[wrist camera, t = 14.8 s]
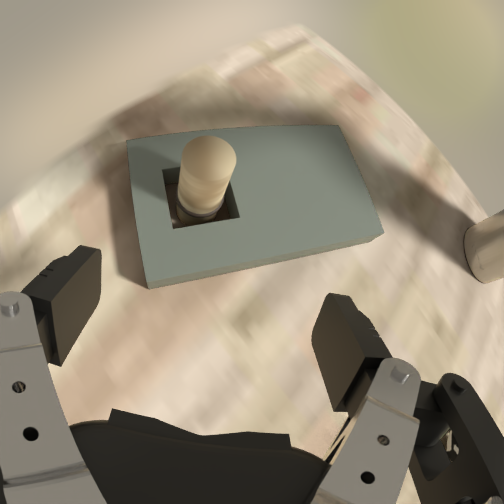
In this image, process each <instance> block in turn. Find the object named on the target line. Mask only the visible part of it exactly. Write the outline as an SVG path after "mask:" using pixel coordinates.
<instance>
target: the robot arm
mask: <svg viewBox="0 0 504 504" xmlns="http://www.w3.org/2000/svg"><path fill="white" fill-rule="evenodd" d="M464 248H465V254H466V258H467V261H468V264H469V267H470V268H471V270H472V272H473V274H474V275H475V277H476V278H477V279H478V280H479V281H481V282H483V283H490V282H492V281H495V280H498V279H501V278H504V210H502V211H500V212H499V213H496V214H494V215H493V216H491V217H489V218H487V219H485V220H483V221H481V222H479V223H477V224H475V225H474V226H472V227H470V228H469V229H468V230H467V231H466V234H465V238H464ZM101 260H102V255H101V250H100V249H96V248H92V247H87V246H83V245H80V246H78V247H77V248H76V249H75V250H74V251H73V252H72V253H71V254H70V255H69V256H63V257H60V258H58V259H56V260H53V261H52V262H51V263H50V264H49V265H48V266H47V267H46V268H45V269H44V270H43V271H41V272H40V273H39V275H37V276H36V277H35V278H34V279H33V280H32V281H31V282H30V283H29V284H28V285H27V286H26V287H25V288H24V289H23V290H22V291H21V292H4V293H1V294H0V504H396V501H397V498H398V496H399V493H400V490H401V487H402V484H403V481H404V478H405V475H406V472H407V468H408V467H409V470H410V473H411V475H412V478H413V481H414V484H415V487H416V490H417V493H418V496H419V499H420V502H421V504H504V437H503V435H502V433H501V432H500V430H499V428H498V427H497V425H496V423H495V422H494V420H493V418H492V417H491V415H490V413H489V412H488V410H487V409H486V407H485V405H484V404H483V402H482V401H481V399H480V398H479V396H478V394H477V393H476V391H475V390H474V388H473V387H472V385H471V384H470V383H469V382H468V381H467V380H466V379H464V378H463V377H461V376H459V375H457V374H453V373H447V374H444V375H443V376H442V378H441V379H440V381H439V382H438V384H433V383H429V382H425V381H421V377H420V374H419V373H418V371H417V370H416V369H415V368H414V367H413V366H412V365H411V364H409V363H408V362H406V361H404V360H401V359H398V358H393V357H392V355H391V354H390V352H389V350H388V349H387V347H386V345H385V344H384V342H383V340H382V339H381V337H379V334H378V332H377V331H376V330H375V327H374V326H373V324H372V323H371V321H370V319H369V318H367V317H366V316H365V315H364V314H363V313H362V312H361V311H358V309H357V307H356V306H355V304H354V302H353V301H352V299H351V298H350V296H346V295H340V294H334V293H329V294H328V295H327V296H326V298H325V300H324V302H323V305H322V308H321V310H320V313H319V315H318V318H317V320H316V323H315V325H314V328H313V331H312V346H313V349H314V352H315V355H316V359H317V362H318V365H319V368H320V371H321V374H322V377H323V380H324V383H325V386H326V389H327V392H328V395H329V399H330V402H331V405H332V408H333V411H334V412H348V415H349V416H348V417H347V419H346V420H345V422H344V423H343V425H342V427H341V429H340V430H339V432H338V434H337V435H336V437H335V439H334V440H333V442H332V444H331V445H330V447H329V449H328V450H327V452H326V454H325V455H324V457H323V458H322V459H321V458H319V457H317V456H315V455H313V454H311V453H309V452H307V451H304V450H301V449H298V448H295V447H291V443H290V437H289V434H275V433H259V432H239V433H229V434H219V435H206V436H202V435H197V434H194V433H191V432H188V431H186V430H183V429H180V428H178V427H175V426H173V425H170V424H168V423H165V422H163V421H160V420H158V419H156V418H151V417H146V416H142V415H137V414H133V413H129V412H125V411H121V410H117V409H113V408H112V411H111V414H110V417H109V420H93V421H86V422H80V423H77V424H73V425H70V426H68V423H67V421H66V418H65V416H64V413H63V410H62V408H61V405H60V402H59V399H58V396H57V393H56V390H55V387H54V384H53V381H52V378H51V375H50V371H49V368H48V363H51V364H54V365H57V366H60V367H61V366H62V364H63V362H64V361H65V359H66V357H67V355H68V354H69V352H70V350H71V348H72V347H73V345H74V343H75V342H76V340H77V338H78V336H79V335H80V333H81V331H82V330H83V328H84V327H85V325H86V323H87V322H88V320H89V318H90V317H91V315H92V314H93V312H94V310H95V309H96V307H97V305H98V303H99V300H100V295H101ZM449 429H451V431H452V433H453V435H454V437H455V439H456V441H457V443H458V446H459V452H458V456H457V458H456V459H455V460H454V461H453V462H452V463H451V462H450V460H449V457H448V455H447V453H446V451H445V448H444V446H443V444H442V442H441V440H440V439H441V438H442V437H443V436H444V435H445V434H446V432H447V431H448V430H449Z"/></svg>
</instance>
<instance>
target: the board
mask: <svg viewBox="0 0 504 504" xmlns="http://www.w3.org/2000/svg"><path fill="white" fill-rule="evenodd" d="M200 136H215V137H218V138H221V139H223V140H225V141H226V142H227V143H229V144H230V145H231V147H232V148H233V150H234V151H235V154H236V165H235V168H234V170H233V173H232V175H231V178H230V181H229V183H228V186H227V188H226V191H225V193H224V196H225V200H226V204H227V207H228V211H229V215H230V219H229V220H223V221H217V222H211V223H206V224H200V225H194V226H188V227H183V228H177V229H173V227H172V222H171V217H170V212H169V207H168V201H167V196H166V190H165V185H166V184H173V183H179V176H180V167H181V159H182V152H183V149H184V147H185V146H186V144H187V143H188V142H189V141H191V140H192V139H194V138H196V137H200ZM126 142H127V153H128V163H129V172H130V181H131V189H132V197H133V205H134V212H135V219H136V225H137V232H138V238H139V244H140V250H141V255H142V261H143V266H144V272H145V277H146V282H147V285H148V289H153V288H158V287H163V286H168V285H173V284H178V283H183V282H188V281H193V280H197V279H202V278H207V277H212V276H217V275H221V274H226V273H231V272H236V271H240V270H245V269H250V268H254V267H259V266H264V265H268V264H273V263H277V262H282V261H287V260H291V259H296V258H300V257H305V256H309V255H314V254H318V253H323V252H327V251H332V250H336V249H341V248H345V247H350V246H354V245H359V244H363V243H367V242H370V241H372V240H373V239H375V238H377V237H378V236H380V235H382V234H383V233H384V230H383V228H382V225H381V222H380V220H379V217H378V215H377V212H376V209H375V207H374V204H373V202H372V199H371V197H370V194H369V192H368V190H367V187H366V185H365V182H364V180H363V178H362V175H361V173H360V171H359V169H358V166H357V164H356V162H355V160H354V157H353V155H352V153H351V151H350V149H349V147H348V144H347V142H346V140H345V138H344V136H343V134H342V132H341V130H340V128H339V126H338V125H282V126H256V127H238V128H224V129H212V130H202V131H192V132H183V133H174V134H166V135H159V136H152V137H145V138H138V139H132V140H126Z"/></svg>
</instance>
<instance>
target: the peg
mask: <svg viewBox="0 0 504 504" xmlns="http://www.w3.org/2000/svg"><path fill="white" fill-rule="evenodd" d="M235 165H236V154H235V151H234V150H233V148H232V147H231V145H230V144H229V143H227V142H226V141H225V140H223V139H221V138H218V137H215V136H200V137H196V138H194V139H192V140H191V141H189V142H188V143H187V144H186V146H185V147H184V149H183V152H182V159H181V167H180V176H179V184H178V186H177V189H176V201H177V204H176V213H177V216H178V218H179V219H180V221H181V222H182V223H184V224H185V225H187V226H194V225H200V224H206V223H211V222H213V220H214V219H215V217H216V214H217V212H218V210H219V209H220V207H221V206H222V203H223V200H224V193H225V191H226V188H227V186H228V183H229V181H230V178H231V175H232V173H233V170H234V168H235Z"/></svg>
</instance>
